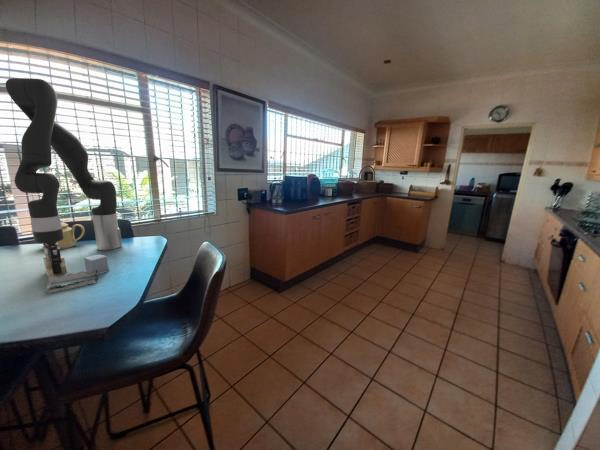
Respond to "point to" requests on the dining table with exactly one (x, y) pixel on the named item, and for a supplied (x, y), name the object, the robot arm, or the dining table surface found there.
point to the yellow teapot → (69, 236)
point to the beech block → (49, 267)
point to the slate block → (96, 263)
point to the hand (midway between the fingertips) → (56, 271)
